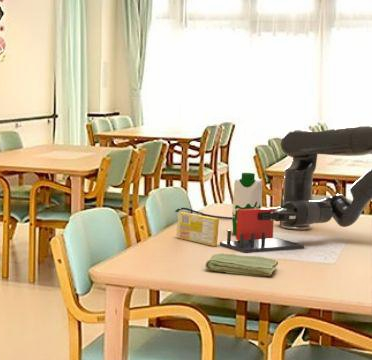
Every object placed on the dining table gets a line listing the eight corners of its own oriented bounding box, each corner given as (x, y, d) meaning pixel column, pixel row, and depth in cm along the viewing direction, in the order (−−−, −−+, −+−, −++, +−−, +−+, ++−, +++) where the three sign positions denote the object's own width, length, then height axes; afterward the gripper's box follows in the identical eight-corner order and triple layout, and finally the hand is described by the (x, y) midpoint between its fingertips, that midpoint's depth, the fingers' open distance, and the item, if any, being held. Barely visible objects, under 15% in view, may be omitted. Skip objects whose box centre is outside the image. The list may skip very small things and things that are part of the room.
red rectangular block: (235, 239, 274) (237, 209, 273) (268, 237, 280) (269, 207, 279) (240, 240, 272) (242, 210, 271) (272, 238, 278) (274, 208, 277)
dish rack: (219, 245, 278) (220, 228, 278) (277, 241, 288) (278, 225, 287) (244, 252, 267) (245, 235, 267) (303, 248, 277) (304, 231, 277)
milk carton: (230, 235, 296) (233, 173, 293) (233, 231, 304) (237, 170, 302) (258, 237, 293) (261, 175, 291) (261, 233, 301) (264, 172, 299)
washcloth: (273, 278, 235) (274, 265, 234) (204, 271, 240) (204, 259, 240) (278, 268, 247) (279, 256, 246) (211, 262, 253) (212, 250, 252)
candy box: (218, 246, 277) (219, 218, 276) (213, 246, 276) (214, 219, 275) (180, 237, 290) (182, 211, 289) (175, 237, 289) (176, 211, 288)
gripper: (286, 197, 288) (241, 200, 281) (317, 203, 276) (271, 206, 268) (285, 221, 289) (240, 224, 282) (316, 228, 277) (270, 232, 269)
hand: (255, 215), depth 275 cm, fingers closed on red rectangular block, 2 cm apart
